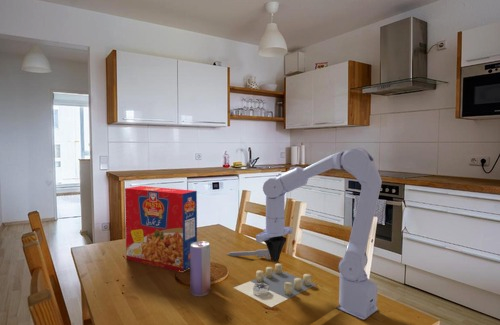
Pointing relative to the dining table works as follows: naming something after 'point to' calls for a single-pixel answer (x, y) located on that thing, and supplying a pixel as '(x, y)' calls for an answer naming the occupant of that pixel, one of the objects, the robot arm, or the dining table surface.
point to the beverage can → (200, 268)
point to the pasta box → (160, 226)
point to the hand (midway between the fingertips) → (274, 260)
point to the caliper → (252, 253)
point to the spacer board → (277, 285)
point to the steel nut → (261, 289)
